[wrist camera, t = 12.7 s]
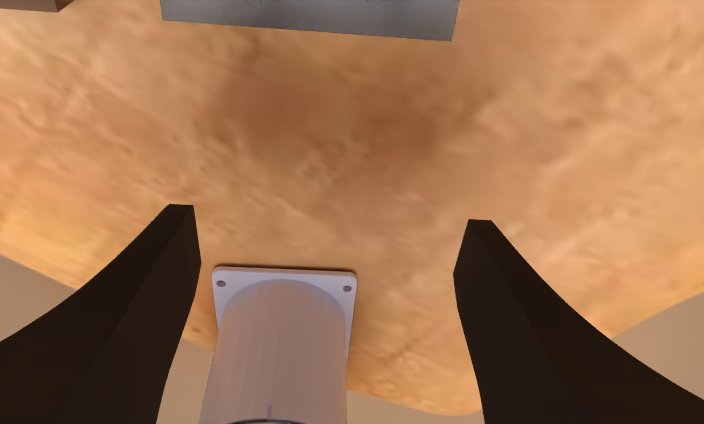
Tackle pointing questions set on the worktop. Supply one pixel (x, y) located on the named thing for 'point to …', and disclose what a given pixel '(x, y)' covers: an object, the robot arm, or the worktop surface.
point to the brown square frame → (35, 5)
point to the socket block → (325, 15)
